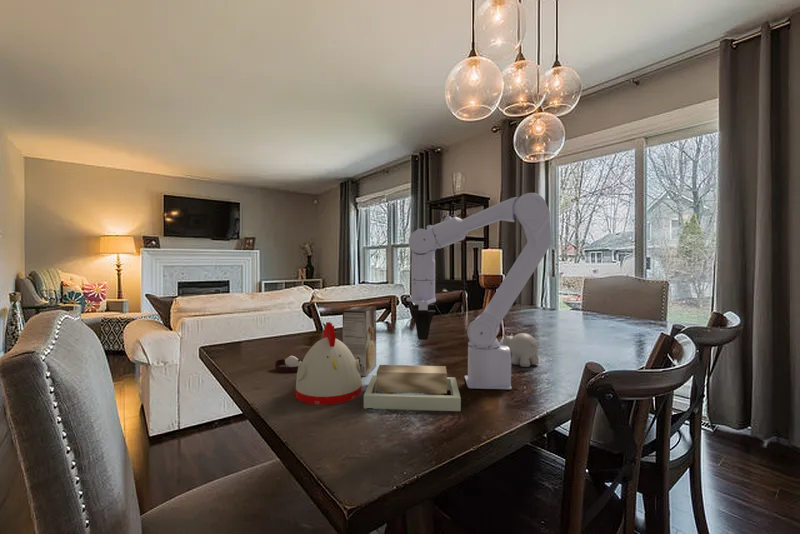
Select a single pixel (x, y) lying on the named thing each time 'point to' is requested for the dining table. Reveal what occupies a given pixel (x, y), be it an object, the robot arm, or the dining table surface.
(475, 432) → the dining table surface
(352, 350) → the coffee box
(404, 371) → the board
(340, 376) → the kitchen timer
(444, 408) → the peg frame
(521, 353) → the round bodied animal figurine
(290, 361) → the watch
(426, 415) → the dining table surface
